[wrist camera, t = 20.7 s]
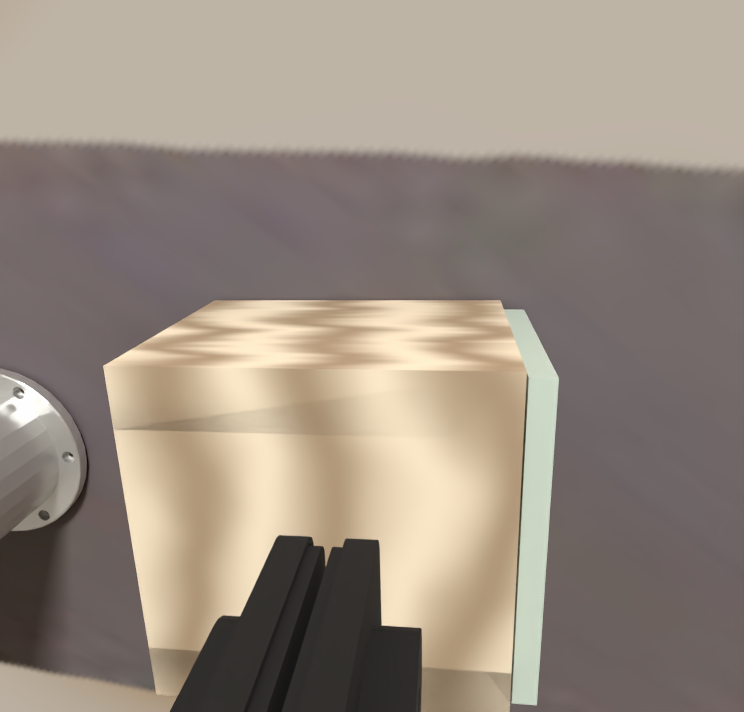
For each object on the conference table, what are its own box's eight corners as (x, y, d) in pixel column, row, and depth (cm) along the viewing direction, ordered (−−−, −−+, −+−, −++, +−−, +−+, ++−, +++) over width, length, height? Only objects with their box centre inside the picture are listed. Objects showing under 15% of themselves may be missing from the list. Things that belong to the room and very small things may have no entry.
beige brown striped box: (239, 543, 45) (156, 694, 32) (214, 300, 40) (103, 365, 27) (491, 555, 43) (508, 723, 30) (500, 300, 37) (526, 371, 25)
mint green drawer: (264, 540, 44) (197, 678, 32) (243, 309, 39) (155, 372, 27) (512, 552, 42) (536, 705, 30) (523, 309, 37) (558, 378, 25)
